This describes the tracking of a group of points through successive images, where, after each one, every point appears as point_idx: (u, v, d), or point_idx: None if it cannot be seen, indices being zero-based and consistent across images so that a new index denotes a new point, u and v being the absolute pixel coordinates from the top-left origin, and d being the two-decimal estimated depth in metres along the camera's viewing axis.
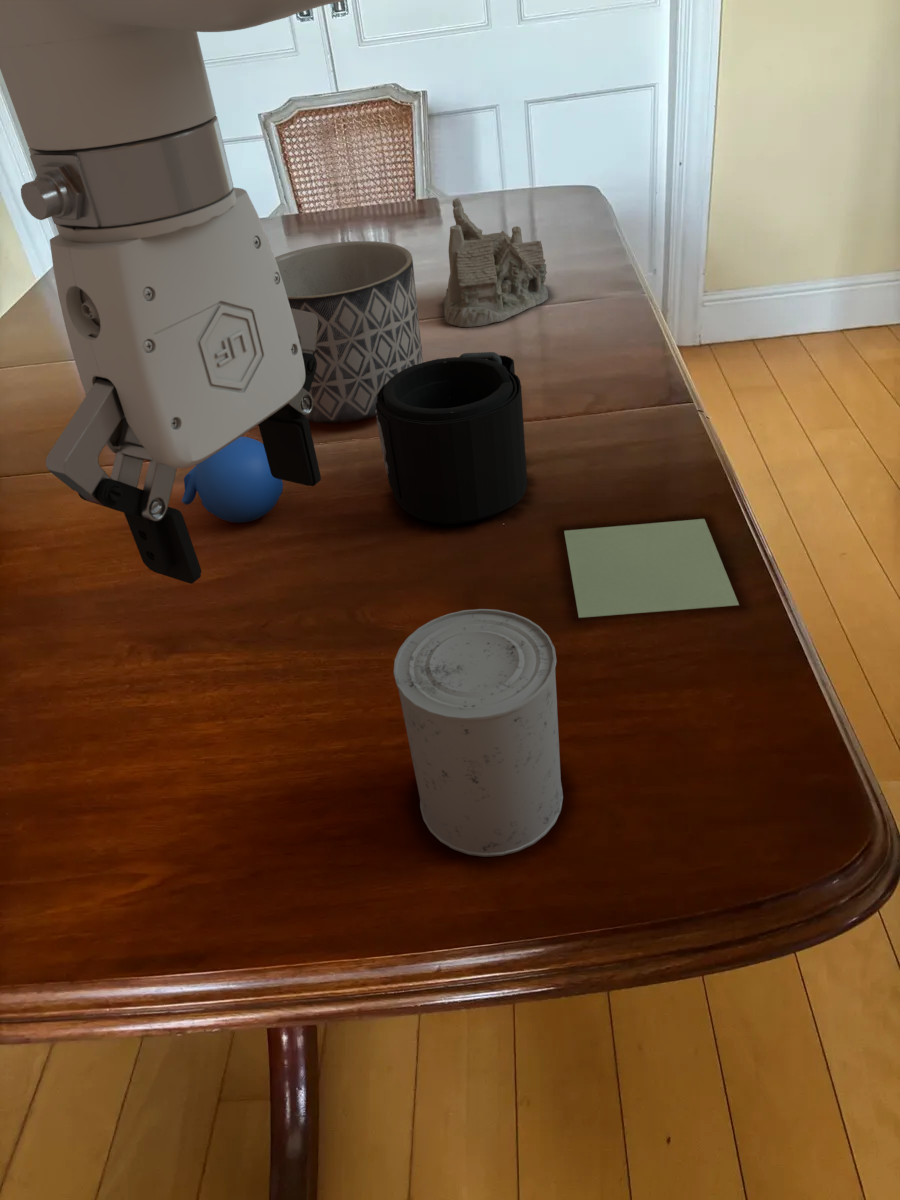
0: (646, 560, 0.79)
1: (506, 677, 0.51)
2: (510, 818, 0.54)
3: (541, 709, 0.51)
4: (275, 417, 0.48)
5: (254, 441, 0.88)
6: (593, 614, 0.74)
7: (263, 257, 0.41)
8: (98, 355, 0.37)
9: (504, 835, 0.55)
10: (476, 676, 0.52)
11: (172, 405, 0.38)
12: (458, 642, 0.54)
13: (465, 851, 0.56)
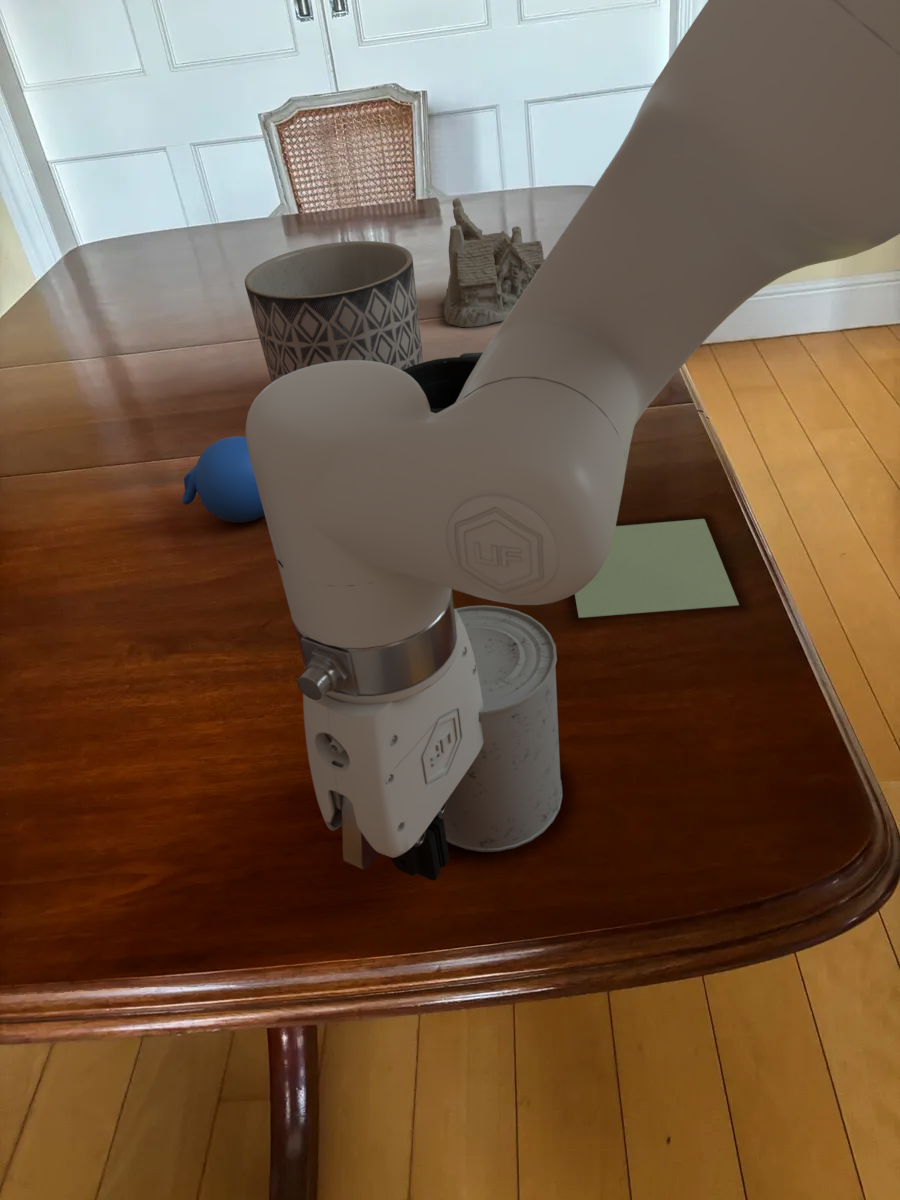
0: (646, 560, 0.79)
1: (506, 673, 0.51)
2: (508, 815, 0.54)
3: (540, 706, 0.51)
4: None
5: None
6: (593, 614, 0.74)
7: (467, 661, 0.46)
8: (340, 781, 0.42)
9: (501, 830, 0.55)
10: None
11: (400, 815, 0.43)
12: None
13: (462, 846, 0.57)
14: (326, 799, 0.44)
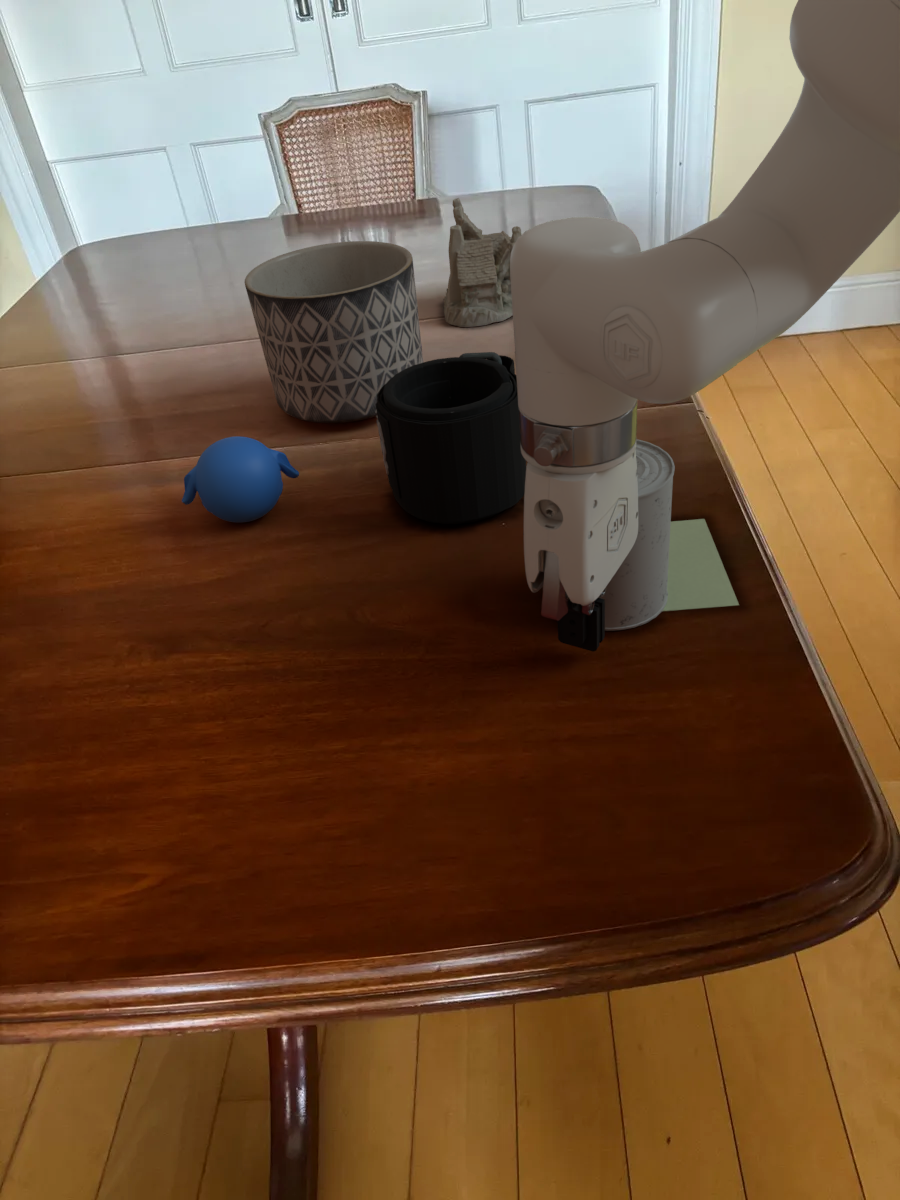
0: None
1: (639, 474, 0.67)
2: (644, 592, 0.70)
3: (669, 494, 0.67)
4: None
5: (254, 441, 0.88)
6: None
7: (634, 463, 0.61)
8: (551, 539, 0.58)
9: (638, 607, 0.71)
10: None
11: (592, 568, 0.59)
12: None
13: (606, 628, 0.72)
14: (535, 560, 0.60)
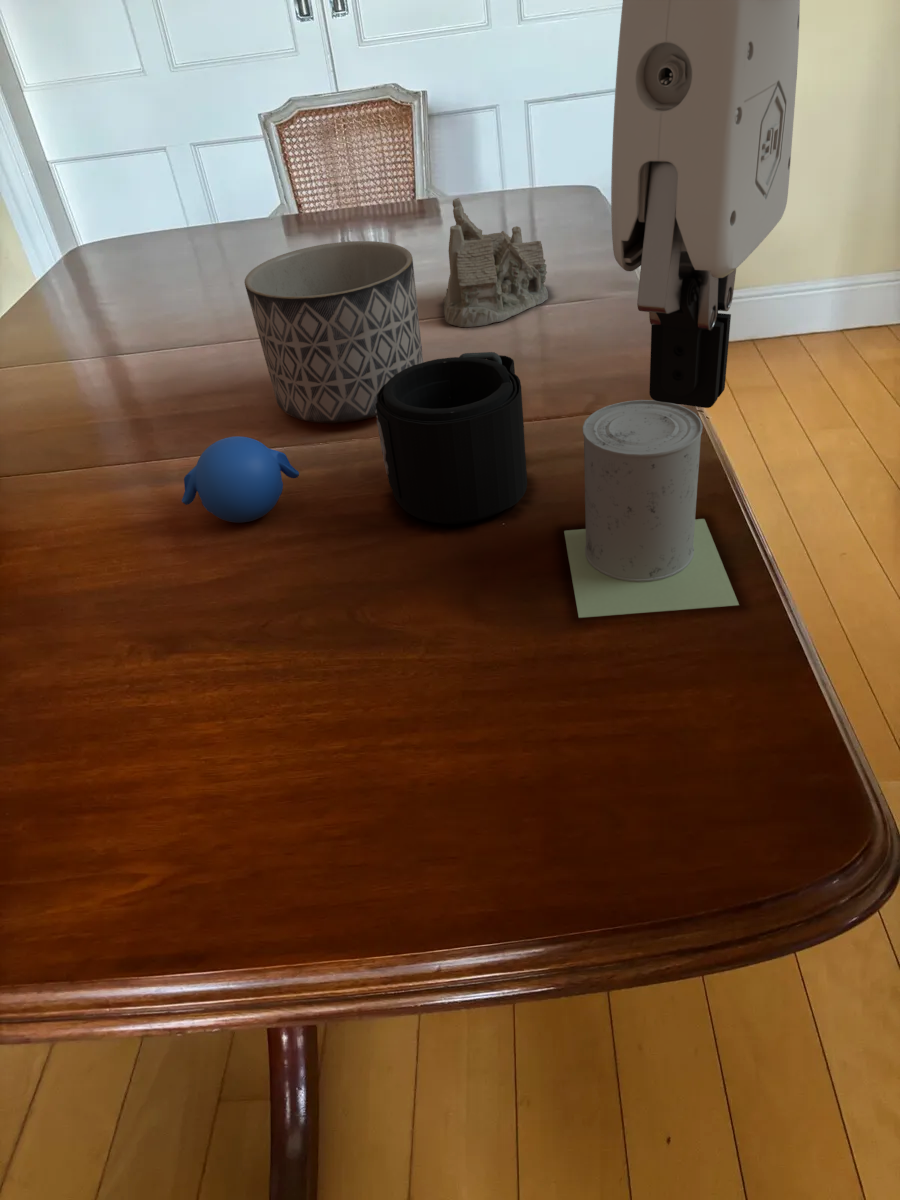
0: None
1: (669, 432, 0.72)
2: (672, 545, 0.75)
3: (697, 452, 0.72)
4: None
5: (254, 441, 0.88)
6: (593, 614, 0.74)
7: (797, 42, 0.36)
8: (667, 131, 0.32)
9: (666, 560, 0.75)
10: (647, 435, 0.72)
11: (735, 195, 0.33)
12: (622, 420, 0.74)
13: (635, 579, 0.76)
14: (632, 190, 0.34)
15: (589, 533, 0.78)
